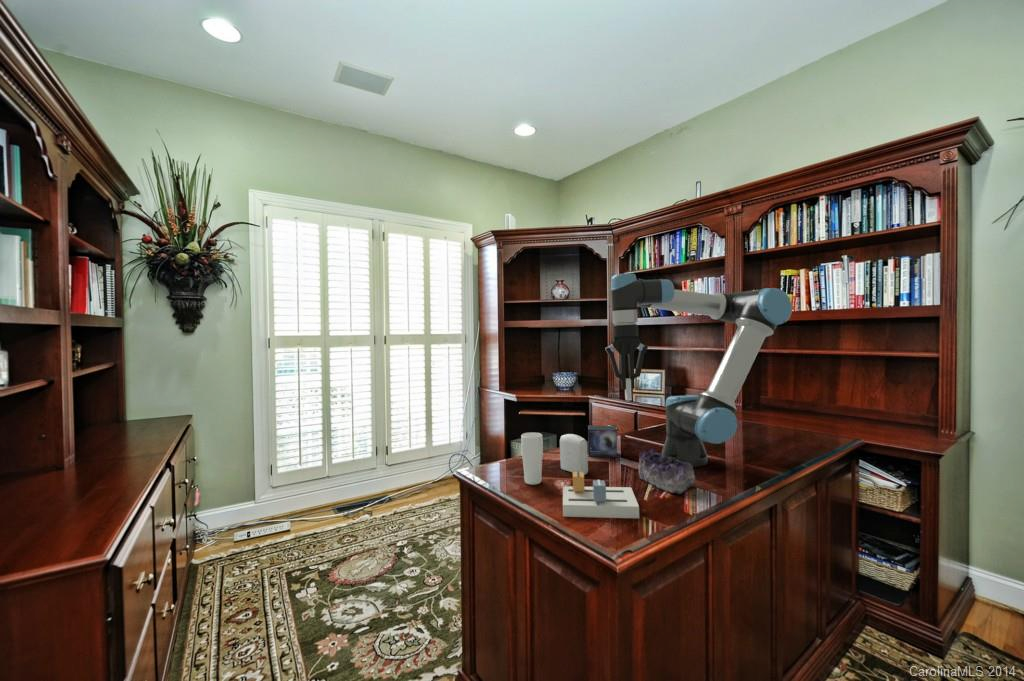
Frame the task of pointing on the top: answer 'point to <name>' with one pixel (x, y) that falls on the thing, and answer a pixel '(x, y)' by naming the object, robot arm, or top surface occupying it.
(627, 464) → the top surface
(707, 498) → the top surface
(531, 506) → the top surface
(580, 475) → the orange fader
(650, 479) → the geode
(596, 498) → the slate fader
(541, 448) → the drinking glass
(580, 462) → the white slotted device
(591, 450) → the small box
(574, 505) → the fader console
